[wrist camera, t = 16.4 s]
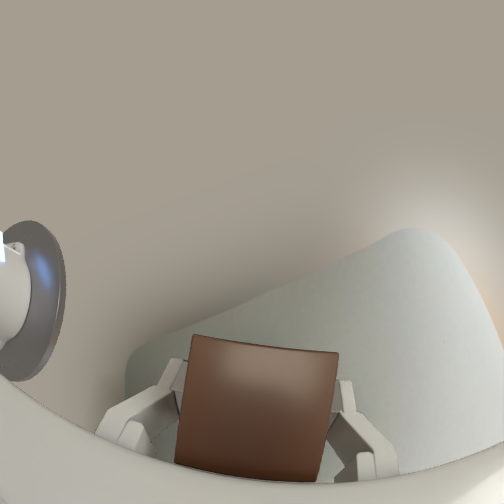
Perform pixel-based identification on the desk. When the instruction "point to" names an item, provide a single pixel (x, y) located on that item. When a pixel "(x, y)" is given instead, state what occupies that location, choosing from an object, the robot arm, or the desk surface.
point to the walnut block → (255, 410)
